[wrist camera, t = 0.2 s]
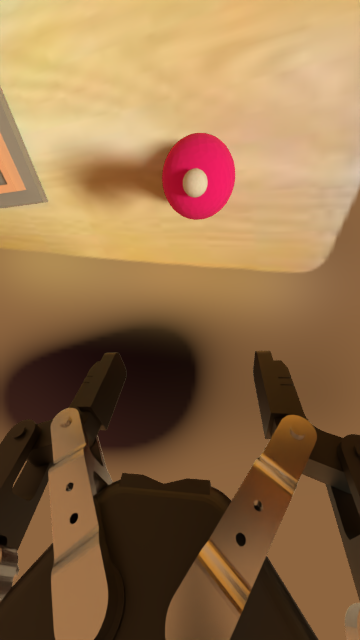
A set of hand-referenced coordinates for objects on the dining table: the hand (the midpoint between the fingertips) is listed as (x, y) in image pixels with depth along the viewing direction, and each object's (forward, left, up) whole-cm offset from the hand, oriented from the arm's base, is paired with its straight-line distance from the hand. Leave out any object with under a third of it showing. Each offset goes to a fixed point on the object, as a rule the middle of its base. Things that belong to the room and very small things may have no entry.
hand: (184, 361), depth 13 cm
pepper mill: (-8, +1, -29) cm, 30 cm away
